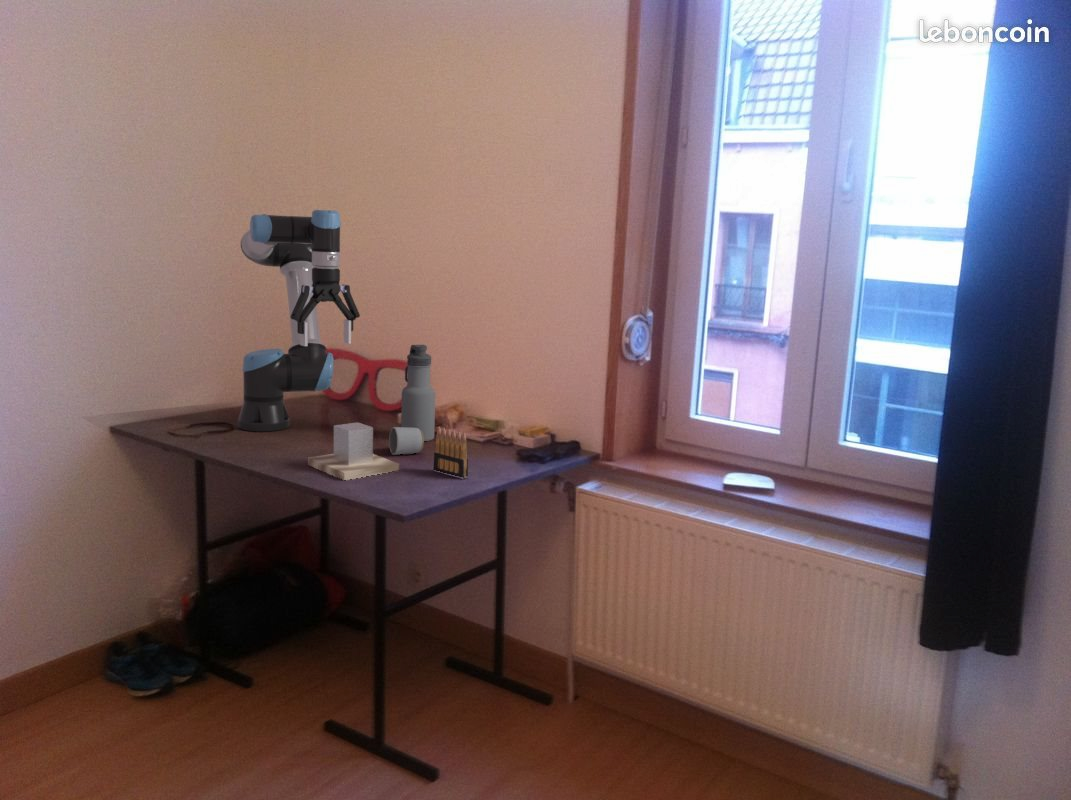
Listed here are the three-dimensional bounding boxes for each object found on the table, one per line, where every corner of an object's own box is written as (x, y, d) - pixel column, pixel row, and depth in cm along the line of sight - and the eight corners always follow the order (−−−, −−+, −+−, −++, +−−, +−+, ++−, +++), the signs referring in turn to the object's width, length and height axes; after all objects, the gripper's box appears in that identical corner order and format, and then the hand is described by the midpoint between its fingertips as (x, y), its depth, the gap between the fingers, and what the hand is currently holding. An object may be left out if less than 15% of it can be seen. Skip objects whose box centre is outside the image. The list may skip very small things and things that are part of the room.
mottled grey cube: (333, 459, 236) (333, 425, 235) (357, 455, 241) (358, 422, 240) (348, 465, 231) (348, 430, 230) (372, 461, 236) (373, 427, 234)
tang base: (308, 464, 238) (307, 435, 236) (361, 456, 248) (361, 427, 247) (344, 480, 225) (344, 449, 223) (398, 471, 235) (399, 441, 234)
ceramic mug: (425, 455, 252) (425, 428, 251) (396, 457, 249) (397, 430, 247) (411, 447, 262) (412, 421, 260) (384, 449, 258) (384, 422, 257)
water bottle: (397, 435, 275) (399, 343, 269) (429, 434, 278) (431, 342, 273) (405, 443, 265) (406, 347, 260) (437, 442, 269) (440, 347, 263)
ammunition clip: (433, 471, 237) (434, 426, 235) (438, 470, 238) (439, 425, 236) (463, 479, 230) (464, 433, 228) (468, 478, 232) (469, 432, 230)
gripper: (290, 268, 239) (291, 348, 243) (372, 268, 256) (371, 343, 260) (277, 266, 245) (278, 345, 249) (358, 266, 262) (357, 340, 266)
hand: (325, 344), depth 255 cm, fingers open, 13 cm apart
